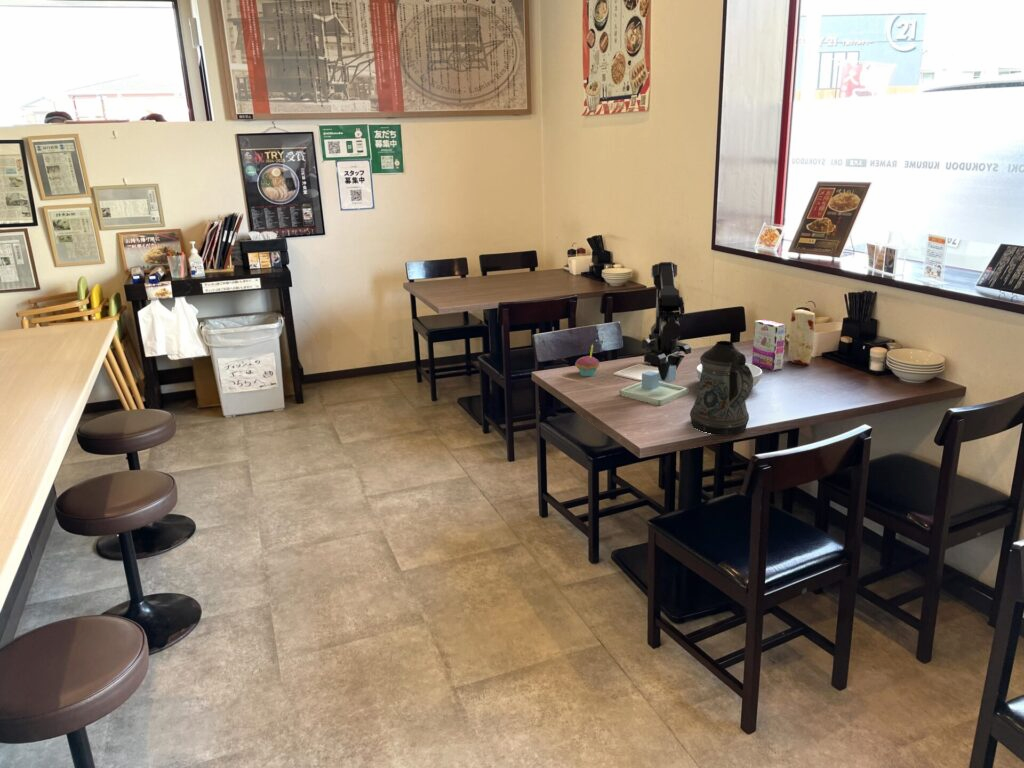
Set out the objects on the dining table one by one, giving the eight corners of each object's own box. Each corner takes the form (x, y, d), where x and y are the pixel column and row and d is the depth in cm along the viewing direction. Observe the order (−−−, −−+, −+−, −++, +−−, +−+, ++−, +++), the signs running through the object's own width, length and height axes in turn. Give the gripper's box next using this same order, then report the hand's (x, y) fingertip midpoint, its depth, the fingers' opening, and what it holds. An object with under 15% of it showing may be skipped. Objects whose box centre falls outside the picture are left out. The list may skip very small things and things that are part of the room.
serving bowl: (764, 399, 238) (765, 378, 236) (696, 397, 242) (697, 377, 240) (757, 380, 257) (758, 360, 255) (694, 378, 261) (695, 359, 259)
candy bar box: (783, 369, 268) (787, 324, 263) (773, 371, 266) (776, 326, 261) (761, 362, 277) (764, 318, 272) (751, 364, 275) (754, 320, 270)
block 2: (665, 377, 247) (665, 363, 246) (675, 380, 245) (676, 365, 243) (658, 380, 245) (658, 365, 243) (668, 383, 242) (669, 368, 240)
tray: (647, 383, 257) (648, 378, 256) (688, 393, 246) (688, 388, 245) (619, 395, 246) (619, 390, 246) (659, 405, 235) (660, 400, 235)
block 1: (648, 385, 253) (649, 370, 251) (658, 387, 250) (658, 373, 249) (641, 387, 250) (641, 373, 249) (651, 390, 248) (651, 375, 246)
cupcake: (599, 372, 271) (599, 340, 268) (599, 379, 263) (599, 346, 260) (575, 372, 272) (575, 340, 269) (575, 379, 264) (574, 346, 261)
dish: (638, 366, 276) (638, 363, 276) (668, 373, 267) (668, 370, 267) (613, 376, 266) (613, 373, 266) (643, 383, 257) (643, 380, 257)
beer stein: (705, 411, 229) (709, 332, 221) (767, 424, 217) (773, 341, 209) (679, 427, 217) (682, 344, 209) (743, 442, 205) (749, 354, 197)
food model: (782, 362, 276) (786, 308, 270) (794, 358, 280) (799, 306, 274) (805, 367, 268) (810, 313, 262) (817, 364, 272) (822, 310, 266)
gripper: (664, 323, 251) (662, 367, 256) (630, 333, 239) (629, 380, 244) (692, 328, 244) (691, 373, 248) (659, 339, 231) (658, 387, 236)
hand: (667, 378), depth 244 cm, fingers closed on block 2, 4 cm apart
